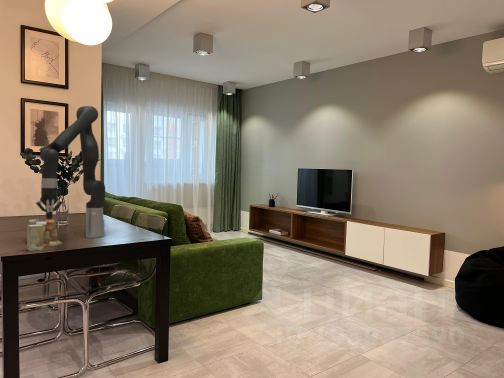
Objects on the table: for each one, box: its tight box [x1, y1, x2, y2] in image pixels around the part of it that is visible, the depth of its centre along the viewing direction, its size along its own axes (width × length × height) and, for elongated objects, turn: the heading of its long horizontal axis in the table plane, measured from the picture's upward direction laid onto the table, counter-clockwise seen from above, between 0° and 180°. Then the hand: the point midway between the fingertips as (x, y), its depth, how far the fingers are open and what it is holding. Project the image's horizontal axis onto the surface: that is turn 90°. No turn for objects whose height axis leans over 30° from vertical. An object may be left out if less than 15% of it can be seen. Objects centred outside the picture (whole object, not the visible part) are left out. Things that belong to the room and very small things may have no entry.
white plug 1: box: [28, 218, 40, 225], centre depth 198 cm, size 5×5×7 cm
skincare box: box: [26, 224, 44, 252], centre depth 183 cm, size 6×4×12 cm
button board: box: [25, 227, 63, 248], centre depth 197 cm, size 13×17×7 cm
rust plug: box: [44, 219, 55, 231], centre depth 199 cm, size 5×5×7 cm
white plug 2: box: [36, 220, 47, 232], centre depth 192 cm, size 5×5×7 cm
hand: (49, 219), depth 198 cm, fingers closed
